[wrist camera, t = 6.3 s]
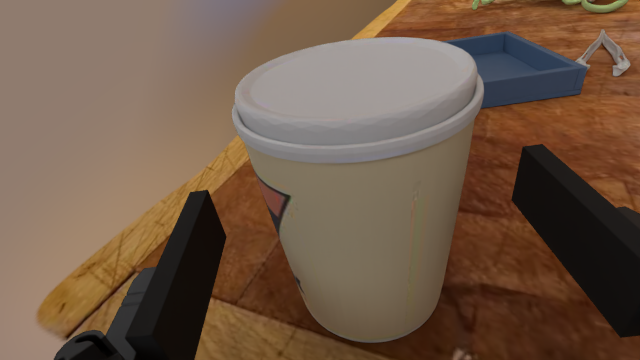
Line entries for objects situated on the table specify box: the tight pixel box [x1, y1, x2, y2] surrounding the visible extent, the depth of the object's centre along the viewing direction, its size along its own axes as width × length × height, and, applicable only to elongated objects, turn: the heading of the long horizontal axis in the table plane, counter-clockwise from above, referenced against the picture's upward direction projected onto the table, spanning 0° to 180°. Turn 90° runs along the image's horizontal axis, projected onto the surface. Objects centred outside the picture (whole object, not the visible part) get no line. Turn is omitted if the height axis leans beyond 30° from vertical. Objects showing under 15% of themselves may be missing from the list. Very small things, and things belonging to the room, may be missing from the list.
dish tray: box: [442, 31, 587, 108], centre depth 41 cm, size 16×16×3 cm
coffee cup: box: [232, 37, 484, 343], centre depth 17 cm, size 9×9×12 cm
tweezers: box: [576, 29, 630, 76], centre depth 43 cm, size 17×5×2 cm, turn 147°
